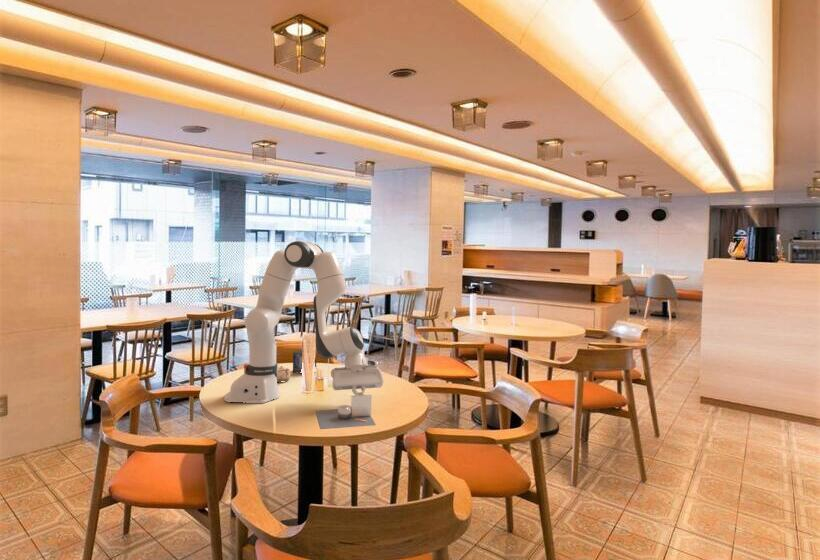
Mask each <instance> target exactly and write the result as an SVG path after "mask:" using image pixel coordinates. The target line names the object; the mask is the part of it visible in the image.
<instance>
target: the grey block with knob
mask: <svg viewBox="0 0 820 560" xmlns="http://www.w3.org/2000/svg"><path fill="white" fill-rule="evenodd" d="M372 396H373V395H372V394H364V395H351V397H350V405H345V404H344V405H343V404H342V405H339V406H338V407H337V409H338V418H340V419H349V418H351V416H362V415H371V416H372Z"/></svg>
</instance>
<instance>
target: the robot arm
mask: <svg viewBox="0 0 820 560" xmlns="http://www.w3.org/2000/svg"><path fill="white" fill-rule="evenodd" d="M297 269H311V270H313V272H314V274H315V277H316V280H317V281H316V282H317V287H318V288H317V292H316V295H314V296H313V304H312V305H313V320H314V329H315V330H314V331H315V350H316V352H317V355H318V356H319V357H321V358H323V359H325V360H329V359H331V358H334V357H336V356H340V355H344V367H334V368H333V369H331V370H330V377H331V378H332V389H333V390H334V391H343V390H351V392H352V393H353V395H354V396H356V395H365V391H366V389H378V388H382V386H383V385H384V377H383V373H382V371H381V369H380V368H379V363H378V361H376V360H371V359H369V358H366V355H365V351H366V350H365V344H364V343H365V342H364V336H363V334H362V332H361V331H360V330H359V329H357V327H354V326H348V327H344V328H341V329H338V330H335V331H332V332H328V331H327V330H328V329H327V321H326V311H327V310H328V308H329V307H330V306H332V304H333V303H336V301H337V300H339V299H340V298H341V297H342V296H343V295H344V293H345V291H346V288H347V285H346V278H345V275H344V271H343V268H342V266H341V263H340V261H339V259H338V257H337V255H336V254H335V253H334V252H332V251H324V250H323V249H322V247H321V246H320V245H317V244H316V243H312V242H310V241H301V240H297V241H296V240H295V241H292V242H290V243H289V244H287V245H286V247H285V249H284V250H277V251H275V253H273V256H272V257H271V259H270V261H269V262H268V265H267V268H266V269H265V272H264V275H263V278H262V281H261V284H260V287H259V290H258V292H259V293H258V296H257V297H258V298H257V303H256V306H255V307H254V308H253V309H251V310H250V311H249V312H248V313H247V315H246V317H245V320H244V325H245V329H246V335H247V340H248V346H249V348H248V349H249V355H248V358H249V359H248V361H249V363H244V364H243V368H244V369H243V371H244V372H243V374H242V375H240V376H239V377H238V378H237V379H235V380H234V381H233V382H232V383H231V386H230V389H229V392H226V394H225V395H224V397H223V398H224V399H225V401H227V402H243V403H242V404H265V402H266V403H267V401H268V402H269V401H274V400H276V399H278V398H280V397H281V394H280V390H279V385H278V384H279V383H277V375H278V366H277V364H278V363H277V343H276V339H275V338H276V337H275V327H276V326H277V325H278V324H279V321H280V319H281V315H282V311H283V307H284V303H285V301H286V300H285V299H286V296H287V293H288V290H289V287H290V284H291V282H292V279H293V276H294V273H295V272H296V270H297ZM360 389H361V392H358V390H360ZM273 399H274V400H273ZM225 401H224V402H225ZM227 402H226V403H227ZM245 402H246V403H245Z"/></svg>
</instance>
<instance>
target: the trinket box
mask: <svg viewBox="0 0 820 560" xmlns="http://www.w3.org/2000/svg"><path fill="white" fill-rule="evenodd" d="M277 366H278V375H277V382H281V381H287V380H289V381H290V378H291V370H290V369H289V367H287V365H284V364H278V363H277ZM287 382H288V381H287Z"/></svg>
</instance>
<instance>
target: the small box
mask: <svg viewBox="0 0 820 560" xmlns="http://www.w3.org/2000/svg"><path fill="white" fill-rule="evenodd" d="M302 351H303V350H302V349H301V350H300V349H299V350H297V351H294V352H292V372H293V371H294V372H298V373H297V374H301V373H300V372H301V369H302ZM315 352H316V355H318V353H317V351H315ZM315 367H316V368H317V358H316V359H315ZM294 372H293V373H294Z"/></svg>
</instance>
